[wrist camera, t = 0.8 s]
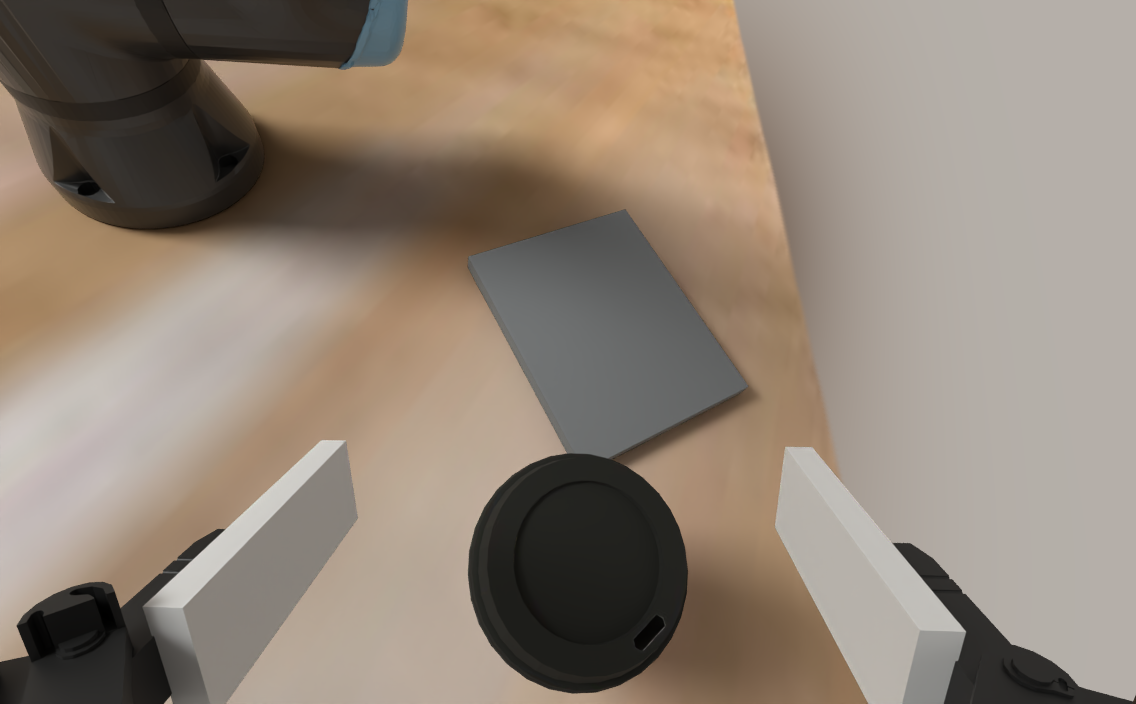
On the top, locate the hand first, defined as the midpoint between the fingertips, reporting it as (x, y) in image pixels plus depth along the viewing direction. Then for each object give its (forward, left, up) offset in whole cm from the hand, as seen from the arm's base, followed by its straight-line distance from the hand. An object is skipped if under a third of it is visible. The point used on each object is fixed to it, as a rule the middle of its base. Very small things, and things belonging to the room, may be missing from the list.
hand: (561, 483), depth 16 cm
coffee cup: (+2, +2, -22) cm, 22 cm away
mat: (-13, +16, -22) cm, 30 cm away
